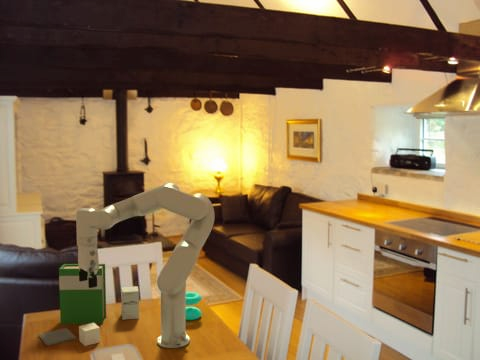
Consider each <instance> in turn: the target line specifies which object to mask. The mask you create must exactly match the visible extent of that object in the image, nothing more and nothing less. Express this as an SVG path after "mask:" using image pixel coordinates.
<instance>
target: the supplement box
mask: <svg viewBox="0 0 480 360" xmlns="http://www.w3.org/2000/svg"><path fill="white" fill-rule="evenodd" d="M120 289H121V290H120V292H121V295H120V296H121V301H120V303H121V320H123V321H124V320H133V319H134V320H135V319H140V291H139V286H138V285H137V286H136V285H134V286H124V287H123V286H122V287H121V288H120Z"/></svg>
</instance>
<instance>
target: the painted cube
mask: <svg viewBox="0 0 480 360" xmlns="http://www.w3.org/2000/svg"><path fill="white" fill-rule="evenodd" d="M78 336H79V337H78V338H79V342H80V343H81V344H82V345H83V346H85V347H87V346H90V345H94V344H98V343H100V342H101V329H100V326H98V325H97V323H90V324H82V325H79V326H78Z"/></svg>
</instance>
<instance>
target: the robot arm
mask: <svg viewBox="0 0 480 360" xmlns="http://www.w3.org/2000/svg"><path fill="white" fill-rule="evenodd" d="M179 187H180V186H178V185H177V184H176V183H173V182H168V183H164V184H161V185H159V186H156V187H154V188H151V189H148V190H146V191H144V192H140V193H138V194H136V195H133V196H131V197H129V198H126V199H124V200H123V199H122V200H121V201H119V202H115V203H112V204H110V205H107V206H105V207H103V208H102V209H100V210H96V209H95V208H93V207H83V208H79V209H78V210H76V212H75V213H76V214H75V217H76V218H75V220H76V222H75V223H76V246H77V247H78V249H77V250H78V251H77V262H78V263H77V264H78V266H79V281H80V282H81V281H86V280H88V286H89V288H93V287H97V273H98V272H97V271H98V269H99V264H100V263H99V251H98V230H109V229H111V228H113V226H115V225H116V224H118V223H120V222H122V221H125V220H127V219H130V218H133V217H139V216H140V217H143V216H148V215H150V214H152V213H153V214H154V213H155V212H158V211H160V210H163V209H164V210H167V211H168V212H171V213H173V214H176V215H178V216H180V217H184V218H186V219H189V220H190V224H189V225H188V227H187V229H186V230H185V232H184V234H183V235H182V237H181V239H180V240H179V242H178V243H177V244H176V245H175V247H174V249H173V251H172V253H171V255H169V256H170V257H169V258H168V259H167V262H166V264H165V265H163V268H162V269H161V271H160V273H159V275H158V276H157V281H156V282H157V287H158V289H159V291H160V332H161V333H160V336H158V337H157V340H156V341H157V343H156V344H157V345H158V346H160V347H162V348H167V349H179V348H182V347H185V346H187V345H188V344H189V343H190V340H191V339H190V336H189V335H188V334H187V331H186V327H187V326H186V325H187V324H186V323H187V322H186V321H187V320H186V309H185V307H186V305H185V303H186V290H187V280H188V279H189V276H190V275H191V273H192V271H193V270H194V267H195V266H196V264H197V263H198V259H199V255H200V253H201V251H202V248H203V247H204V245H205V244H206V242H207V239H208V238H209V236H210V234H211V231H212V230H213V226H214V223H215V209H214V206H213V204H212V201H211V200H210V199H209V197H207V196H206V195H205V194H203V193H195V194H189V193H186V192H184V191H182V190H180V188H179ZM89 269H90V270H89ZM87 272H88V274H89V278H88V277H87ZM91 272H92V274H91Z"/></svg>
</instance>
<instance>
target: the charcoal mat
mask: <svg viewBox="0 0 480 360" xmlns="http://www.w3.org/2000/svg"><path fill="white" fill-rule="evenodd" d="M38 337H39V338H40V339H41V340H42V341H43V343H44V344H45V345H46V346H47V347H50V346H54V345H57V344H61V343H65V342H68V341H73V340H76V338H77V337H76V335H75V334H73V333H72V332H71V331H70V329H68V328H67V327H63V328H61V329H60V328H59V329H55V330H52V331H48V332H43V333H39V334H38Z"/></svg>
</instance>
